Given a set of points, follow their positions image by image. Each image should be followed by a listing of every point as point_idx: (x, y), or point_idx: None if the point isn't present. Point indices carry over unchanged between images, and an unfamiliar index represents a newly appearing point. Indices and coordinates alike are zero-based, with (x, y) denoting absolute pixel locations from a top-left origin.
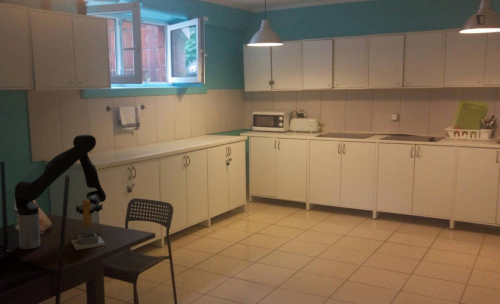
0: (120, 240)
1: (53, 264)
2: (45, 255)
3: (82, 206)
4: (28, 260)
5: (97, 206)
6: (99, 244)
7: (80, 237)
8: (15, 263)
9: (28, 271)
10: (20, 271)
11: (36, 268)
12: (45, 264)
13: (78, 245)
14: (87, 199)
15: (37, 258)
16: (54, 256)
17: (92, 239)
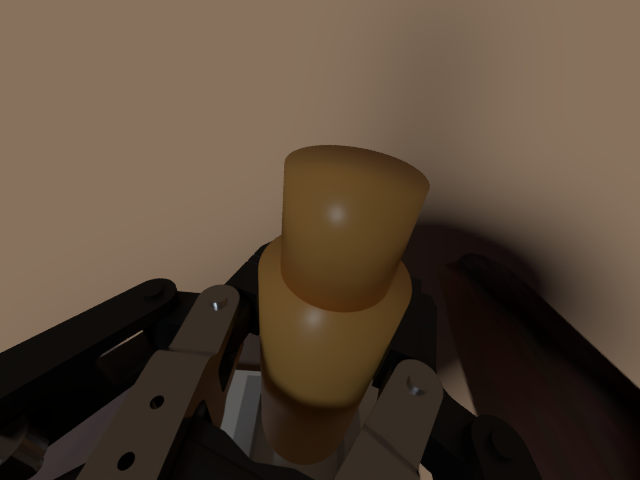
0: (79, 437)
1: (442, 285)
2: (510, 393)
3: (404, 268)
4: (559, 365)
5: (143, 292)
6: (253, 373)
7: (355, 428)
8: (595, 358)
9: (499, 274)
10: (524, 284)
11: (485, 282)
12: (469, 297)
13: (364, 399)
14: (326, 185)
15: (530, 370)
16: (461, 356)
17: None
